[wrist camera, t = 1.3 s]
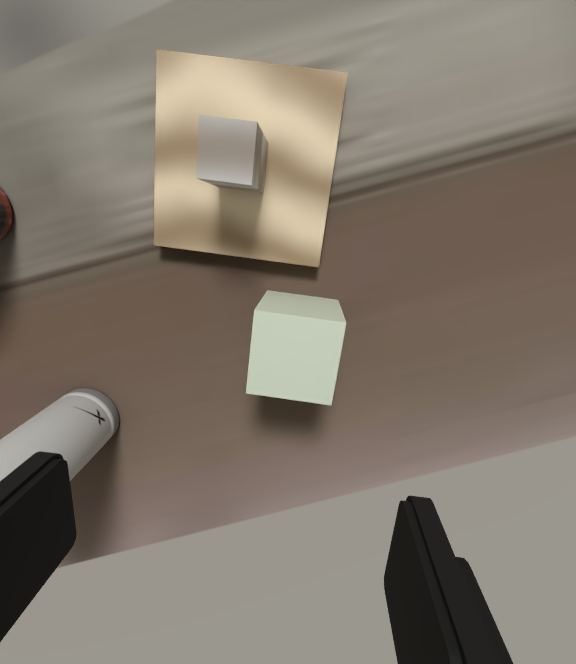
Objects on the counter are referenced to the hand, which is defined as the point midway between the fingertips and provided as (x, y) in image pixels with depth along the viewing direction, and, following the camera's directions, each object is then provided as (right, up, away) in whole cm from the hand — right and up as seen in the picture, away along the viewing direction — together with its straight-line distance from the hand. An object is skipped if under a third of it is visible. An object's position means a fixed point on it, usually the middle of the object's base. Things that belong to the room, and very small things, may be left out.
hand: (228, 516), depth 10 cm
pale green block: (+3, +5, +23) cm, 24 cm away
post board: (-2, +19, +20) cm, 27 cm away
